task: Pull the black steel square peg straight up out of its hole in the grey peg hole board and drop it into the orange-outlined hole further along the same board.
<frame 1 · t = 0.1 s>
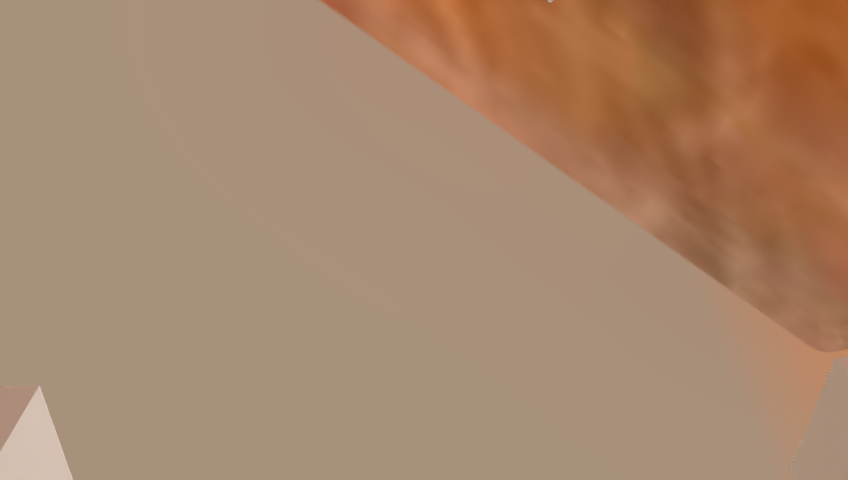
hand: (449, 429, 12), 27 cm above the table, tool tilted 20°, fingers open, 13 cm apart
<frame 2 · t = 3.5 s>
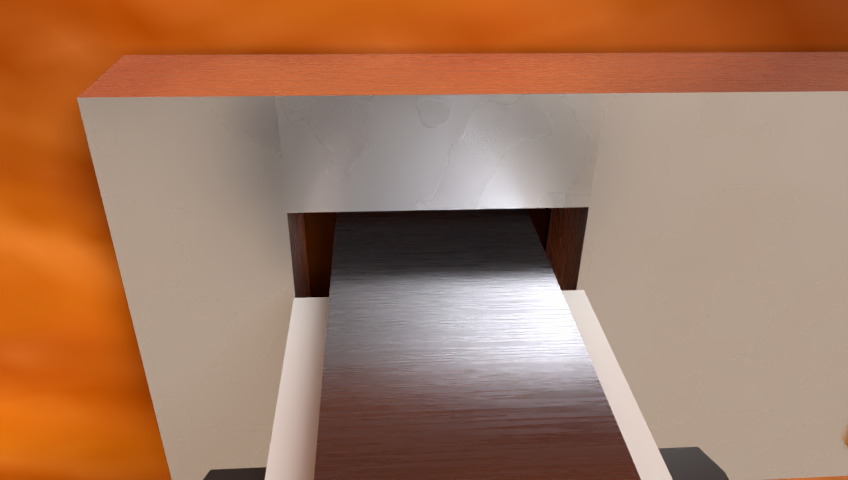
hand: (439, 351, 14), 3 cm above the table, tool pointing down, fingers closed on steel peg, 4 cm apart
grey peg hole board: (715, 257, 17), on the table
steel peg: (427, 264, 16), resting in grey peg hole board, touching gripper
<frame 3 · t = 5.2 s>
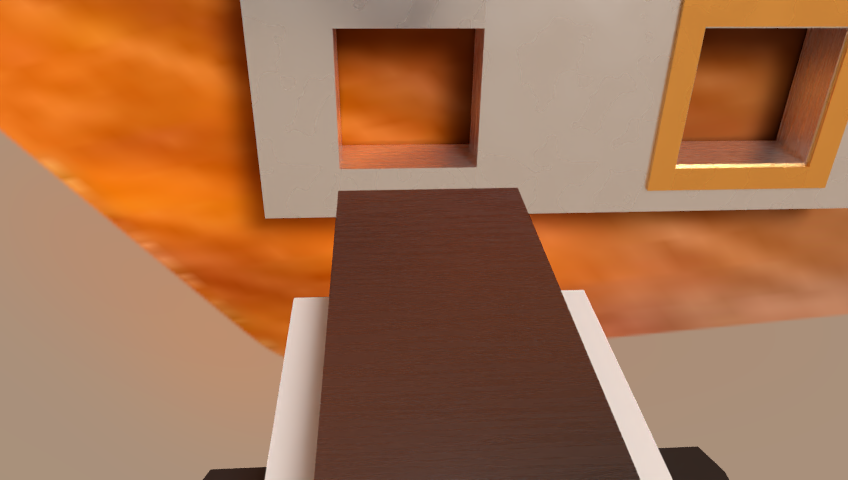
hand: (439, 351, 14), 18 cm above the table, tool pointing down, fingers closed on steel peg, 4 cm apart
grey peg hole board: (570, 81, 29), on the table
steel peg: (427, 265, 16), point 15 cm above the table, touching gripper
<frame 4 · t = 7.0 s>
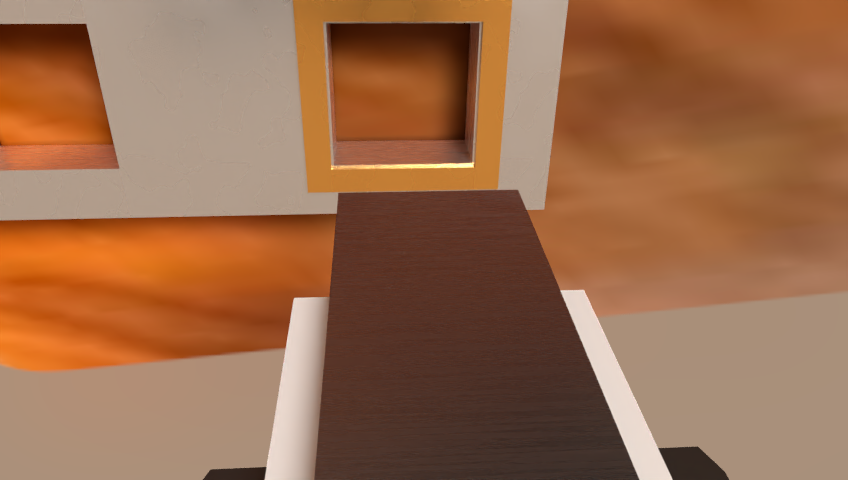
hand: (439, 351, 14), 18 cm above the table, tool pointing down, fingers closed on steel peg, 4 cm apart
grey peg hole board: (229, 78, 28), on the table
steel peg: (427, 267, 16), point 14 cm above the table, touching gripper
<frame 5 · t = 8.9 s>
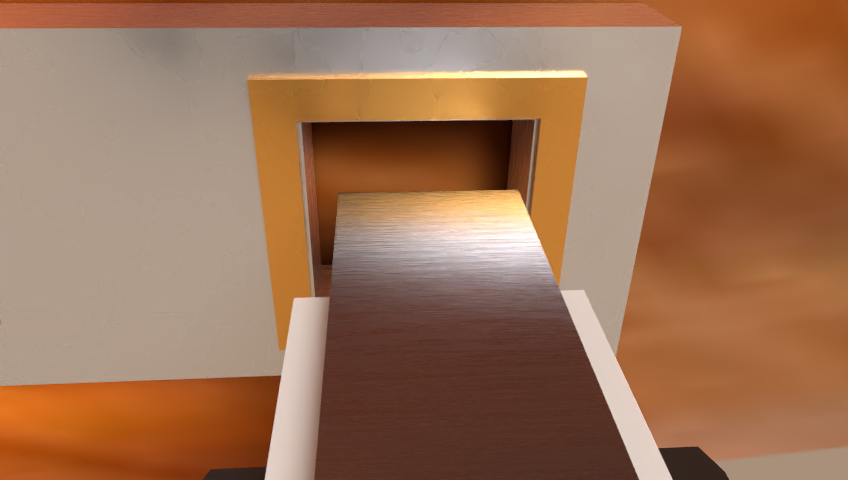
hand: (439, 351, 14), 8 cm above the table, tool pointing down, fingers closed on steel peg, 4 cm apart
grey peg hole board: (166, 185, 20), on the table
steel peg: (427, 267, 16), point 4 cm above the table, touching gripper
when the fingers open (4 cm above the table, at t = 10.5 s): steel peg stays where it is, resting in grey peg hole board.
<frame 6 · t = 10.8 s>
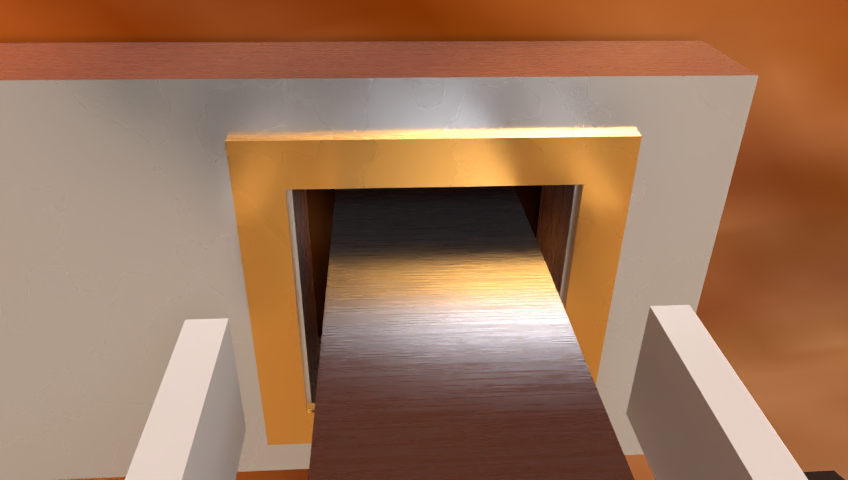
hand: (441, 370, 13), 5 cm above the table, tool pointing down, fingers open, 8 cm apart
grey peg hole board: (135, 250, 17), on the table
steel peg: (422, 244, 17), resting in grey peg hole board
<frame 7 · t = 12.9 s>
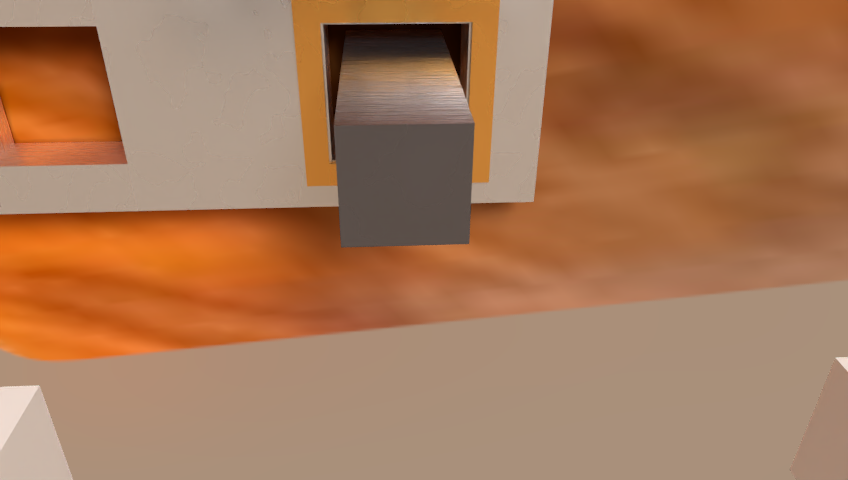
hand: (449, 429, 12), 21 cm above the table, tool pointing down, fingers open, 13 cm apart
grey peg hole board: (232, 78, 30), on the table
steel peg: (394, 76, 30), resting in grey peg hole board
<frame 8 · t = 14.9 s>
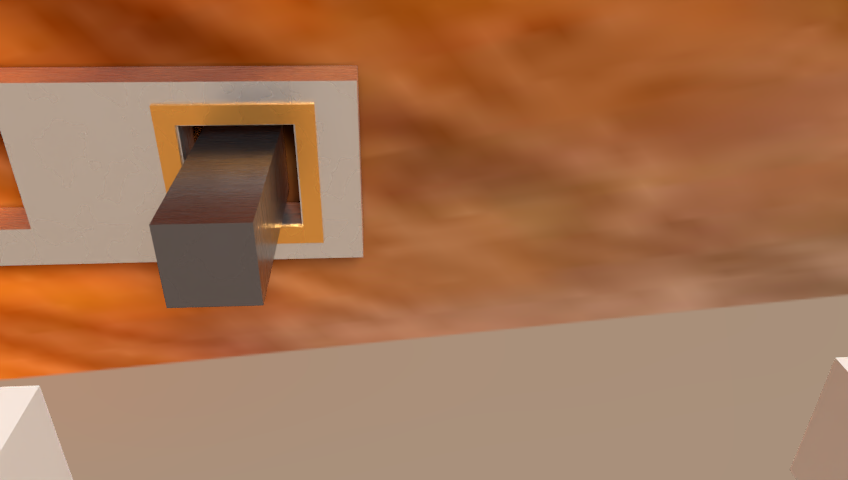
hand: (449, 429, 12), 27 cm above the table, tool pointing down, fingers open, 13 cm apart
grey peg hole board: (117, 159, 37), on the table
steel peg: (248, 157, 38), resting in grey peg hole board
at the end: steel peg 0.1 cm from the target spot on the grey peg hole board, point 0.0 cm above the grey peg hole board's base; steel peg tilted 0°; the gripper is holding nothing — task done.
